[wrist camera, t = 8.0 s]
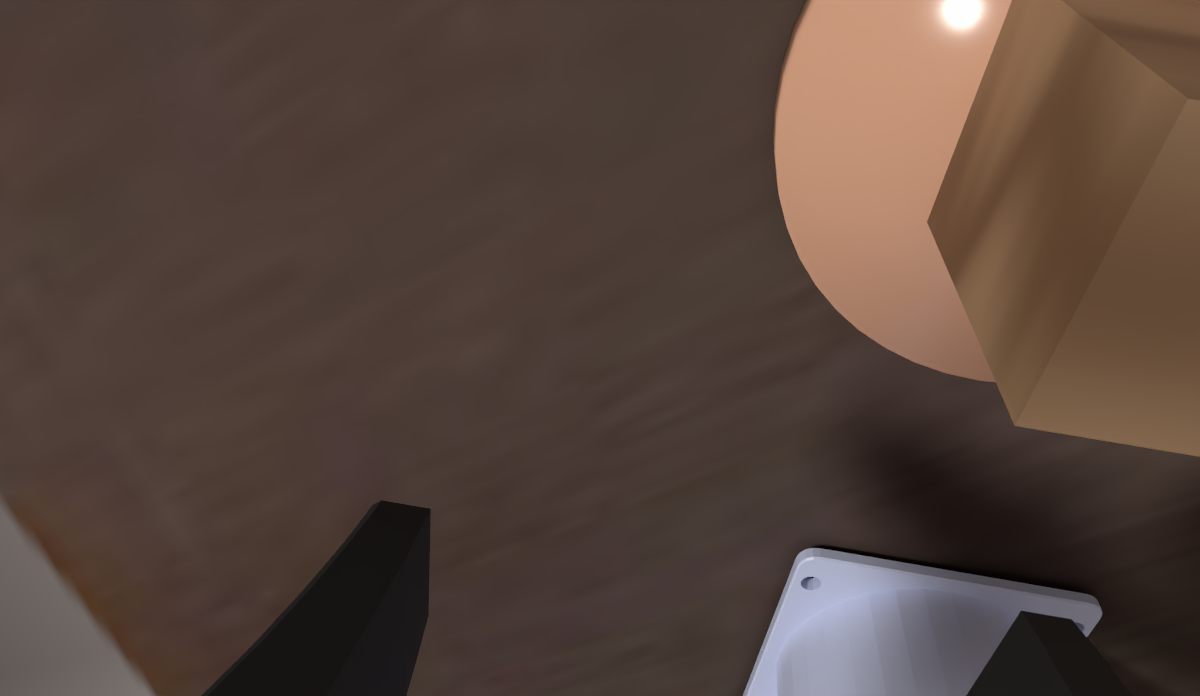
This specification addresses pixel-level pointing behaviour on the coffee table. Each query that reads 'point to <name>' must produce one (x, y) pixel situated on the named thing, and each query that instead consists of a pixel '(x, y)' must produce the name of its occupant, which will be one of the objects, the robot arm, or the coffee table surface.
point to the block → (1085, 219)
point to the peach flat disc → (881, 162)
